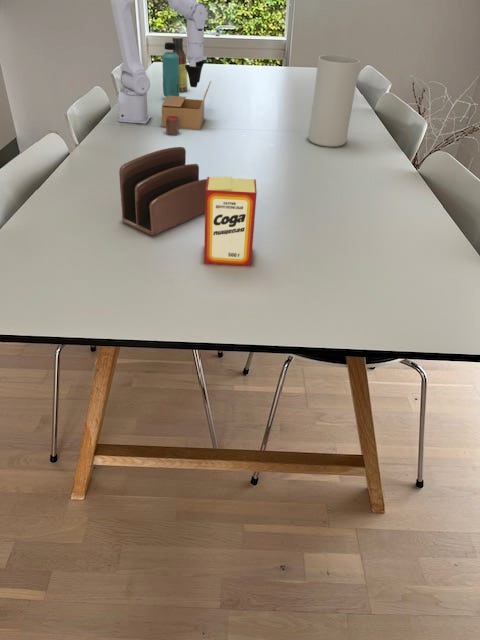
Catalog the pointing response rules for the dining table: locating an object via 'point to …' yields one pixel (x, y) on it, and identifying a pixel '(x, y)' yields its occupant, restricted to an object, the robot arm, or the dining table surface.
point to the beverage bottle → (170, 71)
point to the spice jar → (171, 125)
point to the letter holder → (161, 191)
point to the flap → (205, 94)
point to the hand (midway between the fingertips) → (194, 84)
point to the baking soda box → (229, 220)
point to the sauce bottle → (181, 63)
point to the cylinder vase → (333, 99)
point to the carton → (183, 111)
